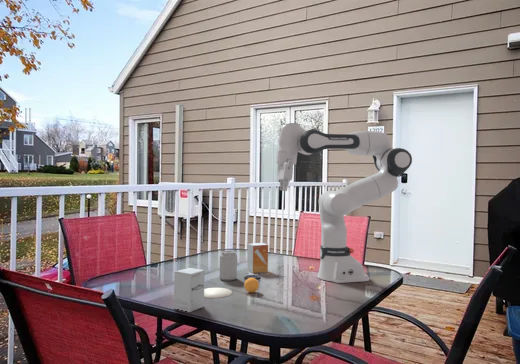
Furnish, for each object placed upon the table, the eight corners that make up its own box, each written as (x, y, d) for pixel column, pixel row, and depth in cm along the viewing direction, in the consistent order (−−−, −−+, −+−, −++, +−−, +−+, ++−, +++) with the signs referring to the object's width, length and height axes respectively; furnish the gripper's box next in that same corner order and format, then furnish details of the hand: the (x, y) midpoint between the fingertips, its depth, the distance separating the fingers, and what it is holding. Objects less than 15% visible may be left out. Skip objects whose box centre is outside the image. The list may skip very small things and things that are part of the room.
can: (234, 281, 164) (234, 253, 164) (217, 280, 165) (217, 252, 165) (238, 277, 171) (238, 250, 171) (222, 276, 172) (222, 249, 172)
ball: (258, 290, 151) (258, 276, 151) (259, 294, 145) (259, 279, 145) (243, 290, 150) (244, 276, 150) (244, 294, 145) (244, 279, 145)
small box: (252, 273, 178) (253, 245, 178) (247, 270, 184) (247, 243, 184) (268, 271, 182) (268, 244, 182) (262, 269, 188) (262, 242, 188)
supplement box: (189, 313, 124) (190, 274, 124) (173, 308, 128) (173, 271, 128) (204, 307, 130) (205, 269, 130) (188, 303, 134) (188, 266, 134)
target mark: (231, 287, 154) (231, 287, 154) (232, 297, 141) (232, 297, 141) (199, 288, 153) (199, 287, 153) (196, 298, 140) (196, 297, 140)
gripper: (297, 159, 160) (294, 192, 160) (290, 161, 180) (286, 190, 180) (282, 157, 159) (279, 190, 159) (276, 160, 180) (273, 189, 180)
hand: (283, 190), depth 170 cm, fingers open, 8 cm apart
